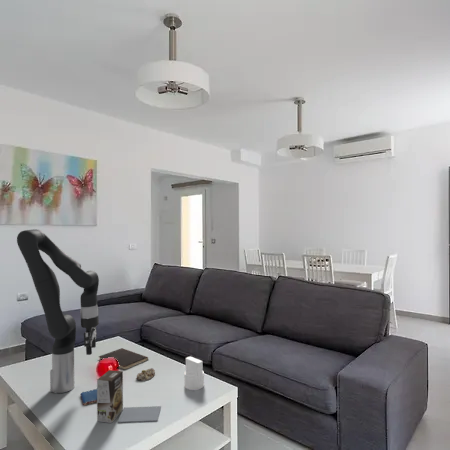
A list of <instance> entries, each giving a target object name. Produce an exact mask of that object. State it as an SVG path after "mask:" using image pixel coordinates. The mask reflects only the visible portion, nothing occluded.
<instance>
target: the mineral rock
mask: <svg viewBox="0 0 450 450" xmlns="http://www.w3.org/2000/svg"><path fill="white" fill-rule="evenodd" d="M155 375H156V370H155V369H154V368H152V367H151V368H148V369H145V370H144V369H142V370H141V372H139V373H137V375H136V379H137V380H139V381H142V382H143V381H150V380H151V379H152V378H153V377H154V376H155Z"/></svg>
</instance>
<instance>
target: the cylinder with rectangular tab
mask: <svg viewBox="0 0 450 450" xmlns="http://www.w3.org/2000/svg"><path fill="white" fill-rule="evenodd" d="M203 369H204V367H203V360H201V359H199V358H196V357H193V356H187V357H185V371H184V372H183V373H184V377H183V378H184V388H185V389H186V390H188V391H189V390H190V391H197V390H201V389H202V388H204V386H205V375H204V374H205V372H204V370H203Z"/></svg>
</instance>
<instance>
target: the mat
mask: <svg viewBox="0 0 450 450" xmlns="http://www.w3.org/2000/svg"><path fill="white" fill-rule="evenodd" d="M161 407H162V406H161V405H159V406H157V405H156V406H153V405H152V406H133V407H132V406H129V407H128V406H125V407H124V406H123V411H122V412H121V413H120V414H119V415H120V416H119V418H118V420H117V424H119V423H121V424H123V423H145V422H146V423H147V422H148V423H149V422H158V421H159V417H160V412H161Z"/></svg>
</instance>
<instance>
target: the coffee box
mask: <svg viewBox="0 0 450 450" xmlns="http://www.w3.org/2000/svg"><path fill="white" fill-rule="evenodd" d="M123 375H124V371H123V370H111V369H109V370H107V371H106V372H105V373H104V374H102V375H101V376H100V377H99V378H97V379H96V380H97V381H96V382H97V383H96V387H97V388H96V389H97V403H96V421H97V422H100V423H101V422H102V423H109V424H111V423H113V422H114V421H115V420H116V419H117V418H118V416H119V415H121V413H122V411H123V409H124V379H123V377H124V376H123Z"/></svg>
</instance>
